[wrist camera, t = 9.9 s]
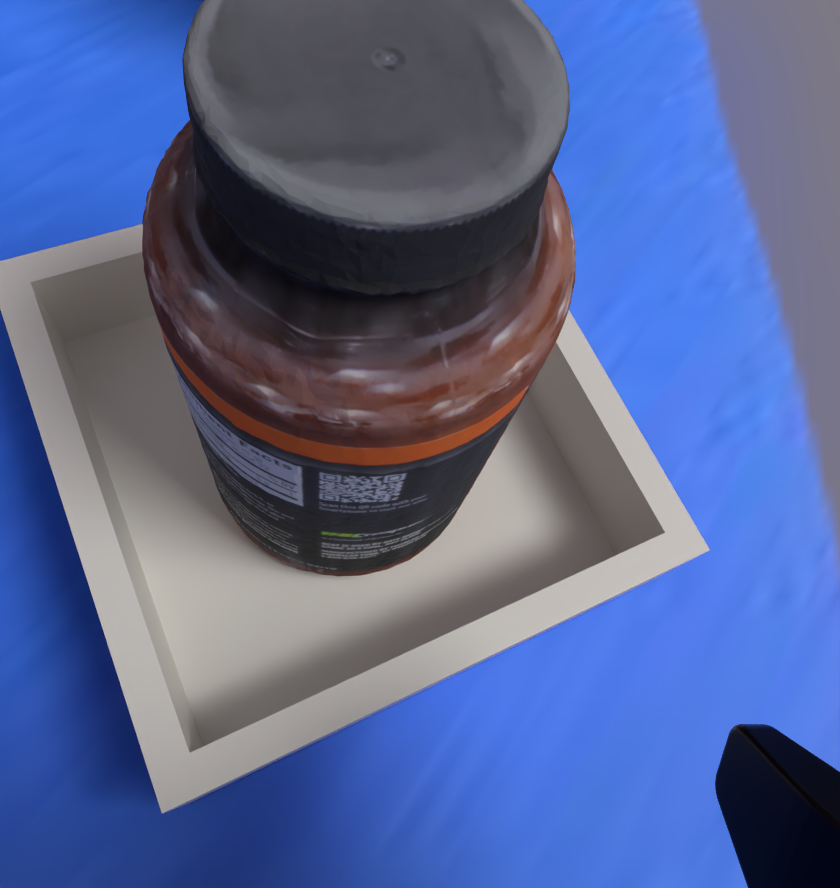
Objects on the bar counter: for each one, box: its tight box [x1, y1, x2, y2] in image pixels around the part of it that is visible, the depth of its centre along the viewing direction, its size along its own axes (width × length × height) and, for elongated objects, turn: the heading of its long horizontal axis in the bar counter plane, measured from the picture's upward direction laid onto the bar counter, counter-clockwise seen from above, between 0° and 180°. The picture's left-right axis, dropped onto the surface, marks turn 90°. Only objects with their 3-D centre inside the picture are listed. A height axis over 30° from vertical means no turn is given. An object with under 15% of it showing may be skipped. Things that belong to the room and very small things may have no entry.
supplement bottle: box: [142, 0, 576, 577], centre depth 13 cm, size 6×6×11 cm
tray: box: [0, 224, 709, 814], centre depth 17 cm, size 11×11×3 cm
